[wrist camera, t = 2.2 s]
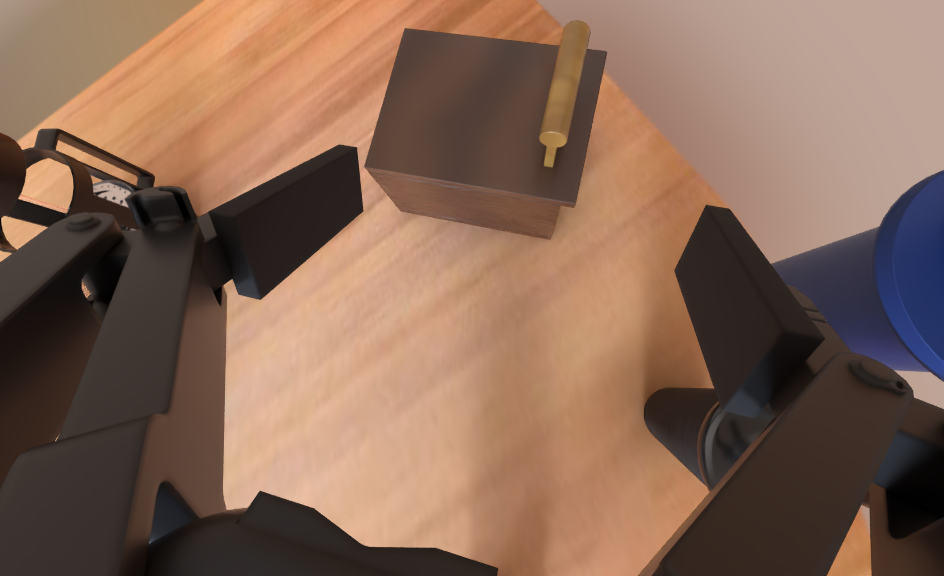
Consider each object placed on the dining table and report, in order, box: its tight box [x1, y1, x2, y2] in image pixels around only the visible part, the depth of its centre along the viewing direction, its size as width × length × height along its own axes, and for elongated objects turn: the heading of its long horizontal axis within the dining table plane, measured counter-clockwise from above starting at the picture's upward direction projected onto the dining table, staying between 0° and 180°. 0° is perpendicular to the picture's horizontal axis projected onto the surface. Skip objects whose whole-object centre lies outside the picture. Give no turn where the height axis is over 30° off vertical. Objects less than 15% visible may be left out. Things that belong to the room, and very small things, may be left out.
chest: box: [369, 172, 561, 240], centre depth 35 cm, size 16×13×9 cm
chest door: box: [364, 20, 607, 208], centre depth 27 cm, size 17×13×6 cm
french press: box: [0, 129, 198, 253], centre depth 31 cm, size 12×9×23 cm
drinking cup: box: [644, 388, 870, 508], centre depth 23 cm, size 8×8×20 cm
